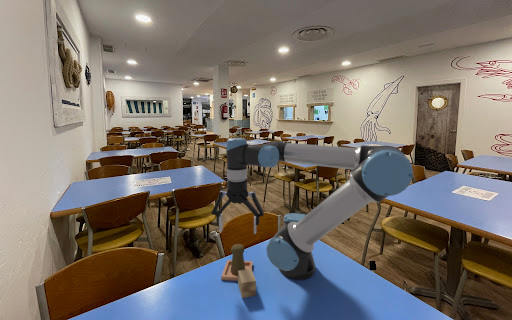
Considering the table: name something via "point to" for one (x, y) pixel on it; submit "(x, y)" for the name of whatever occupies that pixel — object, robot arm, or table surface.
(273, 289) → the table surface
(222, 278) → the terracotta dish
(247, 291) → the oak block
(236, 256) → the cork
